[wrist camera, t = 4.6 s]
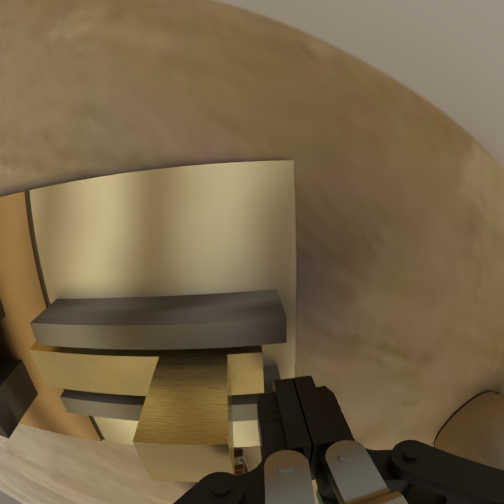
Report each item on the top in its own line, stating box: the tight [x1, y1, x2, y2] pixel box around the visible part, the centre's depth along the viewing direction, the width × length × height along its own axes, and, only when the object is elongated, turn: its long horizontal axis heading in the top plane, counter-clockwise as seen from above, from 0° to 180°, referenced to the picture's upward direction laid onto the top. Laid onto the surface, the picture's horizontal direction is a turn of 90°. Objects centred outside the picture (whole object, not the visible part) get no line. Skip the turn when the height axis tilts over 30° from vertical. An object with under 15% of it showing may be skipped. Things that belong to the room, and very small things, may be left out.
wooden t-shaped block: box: [29, 342, 264, 482], centre depth 11 cm, size 12×2×7 cm, turn 93°
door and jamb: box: [0, 160, 296, 447], centre depth 14 cm, size 24×18×7 cm
